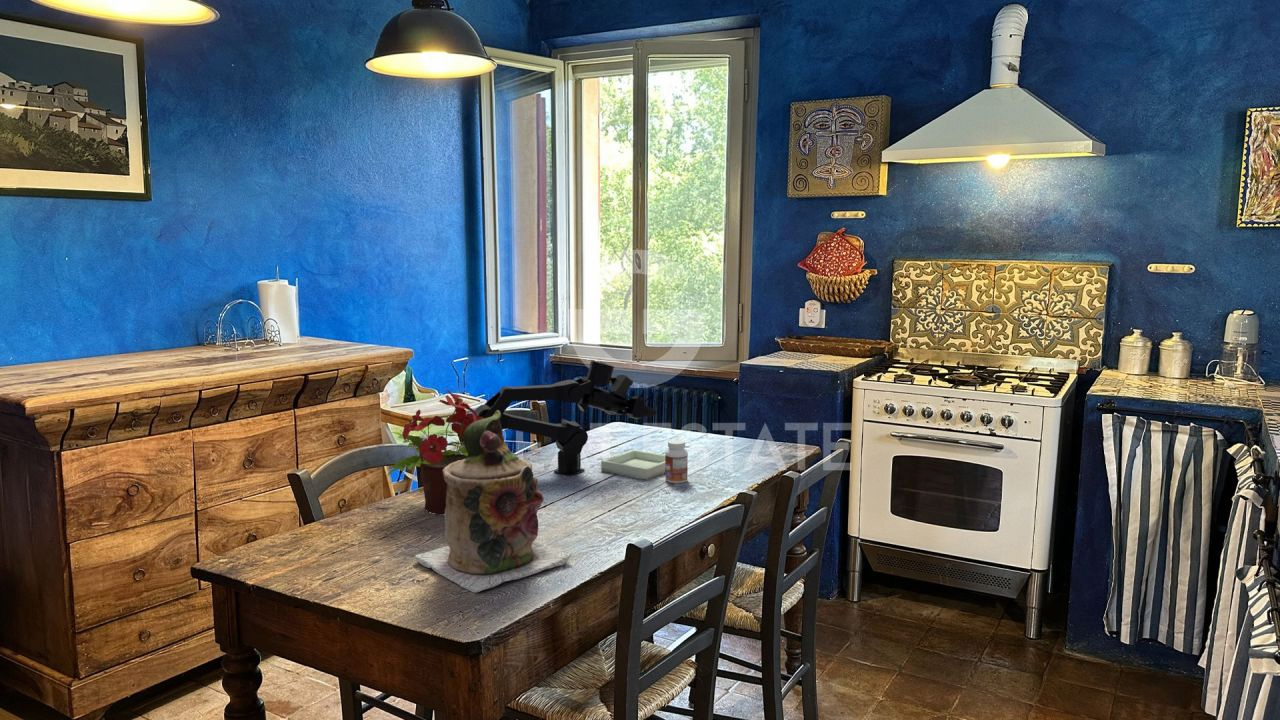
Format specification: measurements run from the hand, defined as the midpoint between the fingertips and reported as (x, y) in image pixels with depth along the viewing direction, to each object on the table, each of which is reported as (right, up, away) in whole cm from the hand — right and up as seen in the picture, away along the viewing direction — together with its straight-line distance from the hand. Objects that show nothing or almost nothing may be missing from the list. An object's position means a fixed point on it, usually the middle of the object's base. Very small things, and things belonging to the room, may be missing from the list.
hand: (647, 411), depth 263 cm
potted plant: (-50, -21, -37) cm, 66 cm away
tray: (-2, -16, -5) cm, 17 cm away
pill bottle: (+8, -18, -17) cm, 26 cm away
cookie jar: (-33, -27, -77) cm, 88 cm away
